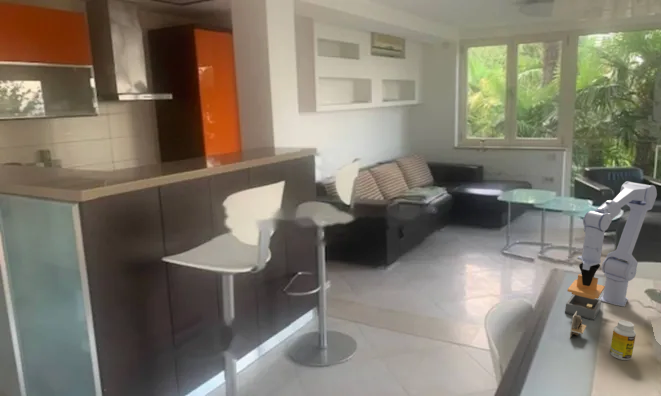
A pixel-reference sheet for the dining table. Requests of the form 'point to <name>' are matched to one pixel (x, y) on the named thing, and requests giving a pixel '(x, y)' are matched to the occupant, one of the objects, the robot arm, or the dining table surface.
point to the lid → (586, 288)
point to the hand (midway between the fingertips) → (586, 284)
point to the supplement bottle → (623, 340)
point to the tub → (583, 307)
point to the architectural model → (577, 325)
